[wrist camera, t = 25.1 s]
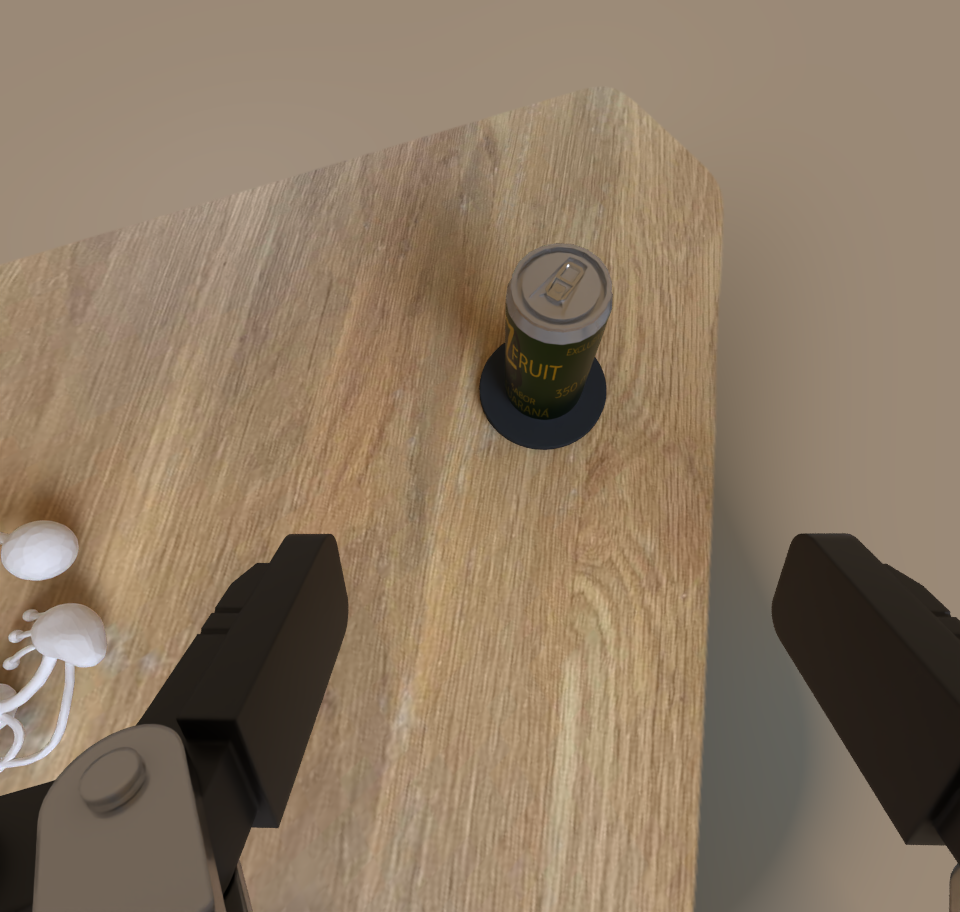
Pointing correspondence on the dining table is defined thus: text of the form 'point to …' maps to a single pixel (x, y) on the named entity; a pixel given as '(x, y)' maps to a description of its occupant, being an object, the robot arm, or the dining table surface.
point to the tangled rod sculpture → (47, 628)
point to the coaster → (536, 430)
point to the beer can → (554, 327)
